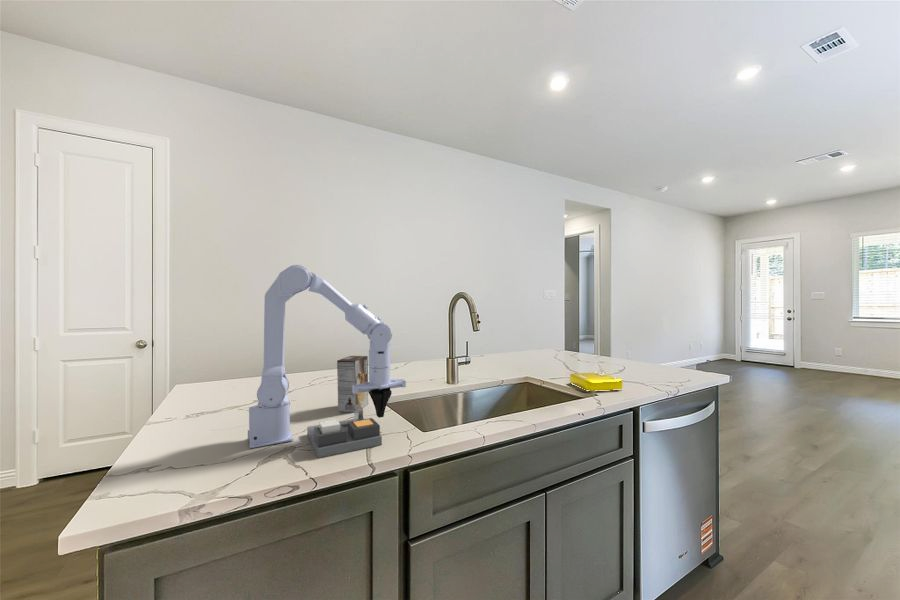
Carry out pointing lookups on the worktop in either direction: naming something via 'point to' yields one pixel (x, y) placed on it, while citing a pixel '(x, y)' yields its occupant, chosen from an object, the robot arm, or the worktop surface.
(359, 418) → the paddle
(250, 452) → the worktop surface
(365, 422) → the orange button
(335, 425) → the grey button
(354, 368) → the coffee box
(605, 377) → the element tile
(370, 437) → the panel
